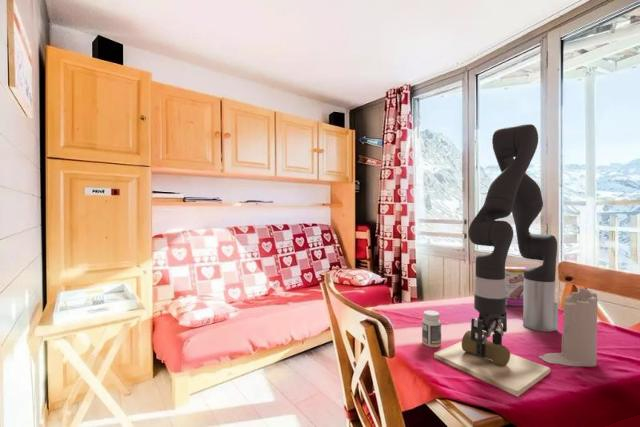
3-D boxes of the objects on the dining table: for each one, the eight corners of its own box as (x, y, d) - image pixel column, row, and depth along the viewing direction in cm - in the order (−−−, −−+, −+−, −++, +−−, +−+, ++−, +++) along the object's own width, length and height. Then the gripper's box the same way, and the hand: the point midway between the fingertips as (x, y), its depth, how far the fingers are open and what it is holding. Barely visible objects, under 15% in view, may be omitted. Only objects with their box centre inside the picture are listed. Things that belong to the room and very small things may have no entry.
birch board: (433, 357, 88) (433, 353, 88) (468, 341, 98) (468, 338, 98) (517, 396, 70) (517, 391, 70) (550, 372, 80) (550, 368, 80)
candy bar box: (503, 306, 132) (503, 268, 132) (497, 302, 137) (498, 266, 137) (530, 307, 131) (531, 269, 131) (524, 303, 136) (524, 266, 136)
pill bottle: (441, 341, 98) (441, 311, 98) (440, 349, 93) (440, 317, 93) (423, 338, 100) (423, 308, 100) (421, 345, 95) (421, 314, 95)
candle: (533, 353, 90) (534, 286, 89) (581, 354, 90) (582, 286, 89) (551, 366, 83) (552, 292, 82) (603, 367, 82) (605, 293, 82)
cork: (465, 328, 88) (506, 344, 79) (475, 333, 91) (515, 349, 82) (459, 348, 87) (499, 367, 78) (469, 353, 90) (509, 371, 81)
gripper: (490, 301, 76) (489, 365, 77) (517, 292, 84) (516, 350, 85) (461, 294, 82) (461, 354, 83) (489, 286, 90) (488, 340, 91)
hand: (489, 352), depth 84 cm, fingers open, 8 cm apart
